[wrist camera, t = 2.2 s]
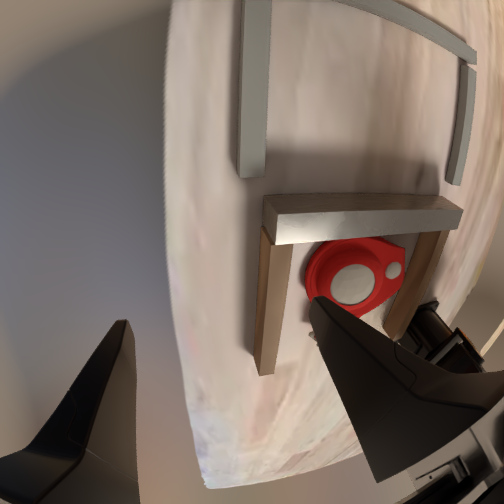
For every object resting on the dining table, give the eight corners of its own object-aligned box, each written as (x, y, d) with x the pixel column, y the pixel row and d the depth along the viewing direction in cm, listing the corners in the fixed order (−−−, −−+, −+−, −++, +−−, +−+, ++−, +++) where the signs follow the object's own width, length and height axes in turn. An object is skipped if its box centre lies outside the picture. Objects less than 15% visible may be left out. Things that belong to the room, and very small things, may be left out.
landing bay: (468, 50, 14) (476, 51, 13) (453, 182, 22) (459, 185, 21) (243, -33, 9) (247, -39, 9) (237, 173, 17) (239, 178, 16)
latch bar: (442, 196, 22) (463, 209, 19) (436, 214, 23) (457, 229, 20) (263, 195, 18) (277, 214, 16) (262, 222, 19) (275, 245, 17)
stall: (433, 217, 23) (450, 229, 21) (391, 324, 31) (401, 338, 29) (261, 227, 20) (271, 245, 18) (253, 357, 28) (259, 376, 26)
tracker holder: (293, 251, 20) (415, 226, 19) (289, 231, 24) (394, 211, 23) (313, 365, 25) (409, 342, 23) (309, 336, 29) (395, 317, 27)
